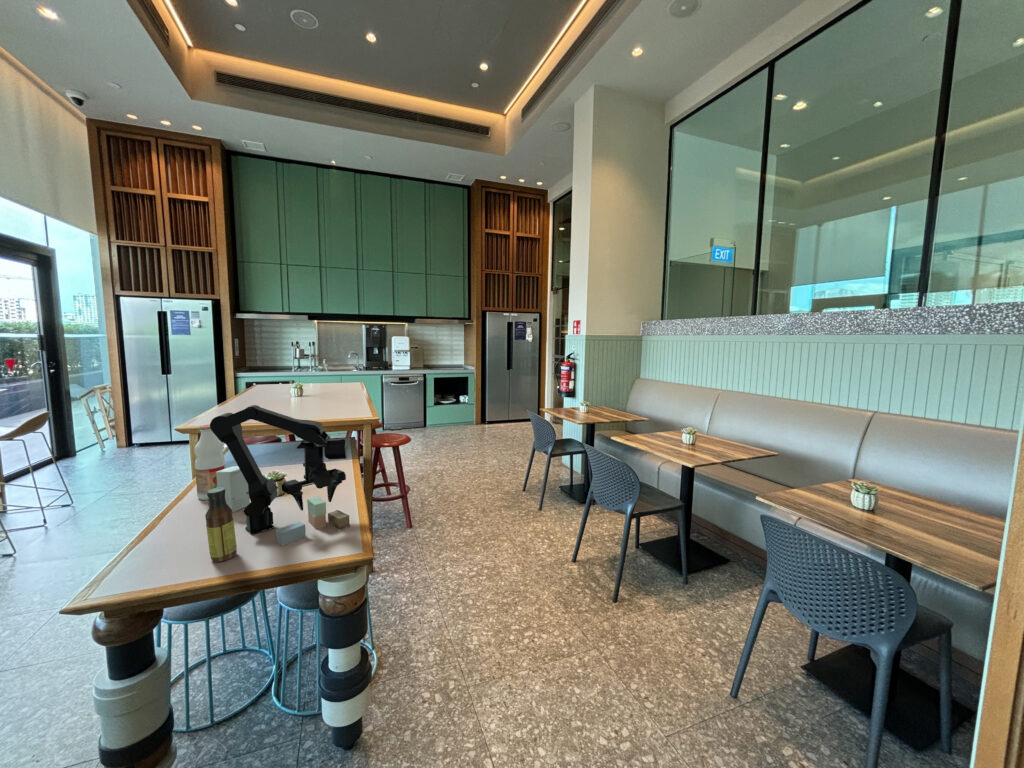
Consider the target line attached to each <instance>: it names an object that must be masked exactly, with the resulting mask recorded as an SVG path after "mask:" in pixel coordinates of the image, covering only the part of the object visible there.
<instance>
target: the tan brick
mask: <svg viewBox="0 0 1024 768" xmlns="http://www.w3.org/2000/svg"><path fill="white" fill-rule="evenodd" d="M307 514H308V515H307V516H308V517H307V518H308V519H307V520H308V523H309V524H310V525H311V526H312V527H313V529H318V527H319V528H322V527H325V526H327V513H326V514H324V515H320V516H317V517H315V516H314V515H312V514H311V513H310V512H309V511H308V510H307Z"/></svg>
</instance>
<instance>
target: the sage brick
mask: <svg viewBox="0 0 1024 768" xmlns="http://www.w3.org/2000/svg"><path fill="white" fill-rule="evenodd" d="M306 503H307V512H308V511H309V512H310V513H311V514H312V515H314V516H315V517H317V516H320V515H324V514H326V515H327V502H326V500H324V499H322V498H321V497H319V496H314V497H311V498H307V500H306Z"/></svg>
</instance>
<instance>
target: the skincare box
mask: <svg viewBox="0 0 1024 768" xmlns="http://www.w3.org/2000/svg"><path fill="white" fill-rule="evenodd" d="M216 475H217V488H225V500H226V503H227V505H228V506H229V507H230V508H231V509H232V514H233V513H235V512H237V511H240V510H241V509H244V508H246V507H247V506H248V505H249V504H250V503H251V501H250V498H249V493H248V484H247V482H246V480H245V478H244V476H243V474H242V472H241V471H240V469H239V467H238V465H233V466H229V467H225V469H223V470H220V471H217V472H216Z"/></svg>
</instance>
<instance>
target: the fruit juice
mask: <svg viewBox="0 0 1024 768" xmlns="http://www.w3.org/2000/svg"><path fill="white" fill-rule="evenodd" d="M199 431H200V437H199V440H198V442H197V443H196V444H195V445H194V449H193V450H194V452H193V453H194V454H195V456H196V458H195V461H194V469H195V481H196V496H197V498H198V500H201V501H209V498H208V496H207V491H209V490H211V489H214V488H217V475H216V472H217V471H220V470H223V469H226V459H225V455H223V453H224V452H223V451H224V449H225V448H224V442H222V441H221V440H220V439H218V438H217V437H216V435H215V434H214V433H213V432H212V430H211V429H210V424H203V425H200V426H199Z"/></svg>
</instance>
